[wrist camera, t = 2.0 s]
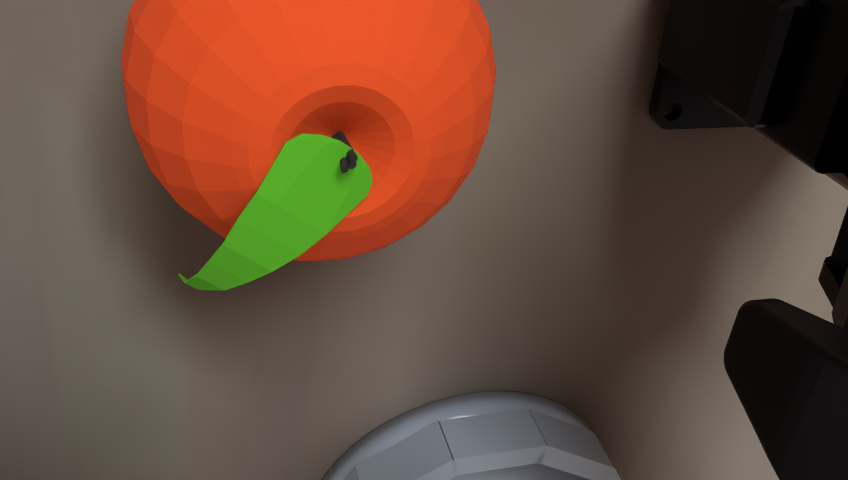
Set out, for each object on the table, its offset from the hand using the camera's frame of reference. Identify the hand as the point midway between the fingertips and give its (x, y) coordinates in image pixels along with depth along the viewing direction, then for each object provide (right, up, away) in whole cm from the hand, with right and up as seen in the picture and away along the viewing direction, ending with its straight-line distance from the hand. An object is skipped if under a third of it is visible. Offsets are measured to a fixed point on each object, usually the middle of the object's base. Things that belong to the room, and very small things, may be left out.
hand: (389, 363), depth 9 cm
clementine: (-3, +6, +9) cm, 12 cm away
